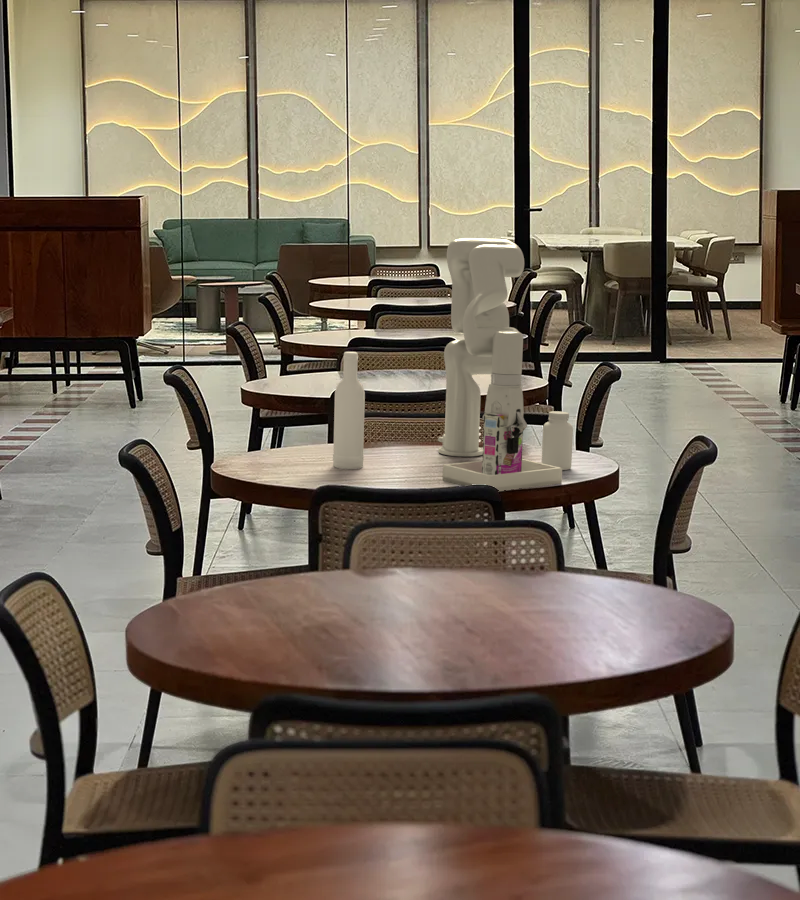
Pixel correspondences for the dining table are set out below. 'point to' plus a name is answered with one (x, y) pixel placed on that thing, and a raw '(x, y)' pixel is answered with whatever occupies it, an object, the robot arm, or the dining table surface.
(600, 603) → the dining table surface
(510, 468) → the candy bar box
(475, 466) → the tray
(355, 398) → the bottle
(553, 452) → the pill bottle
